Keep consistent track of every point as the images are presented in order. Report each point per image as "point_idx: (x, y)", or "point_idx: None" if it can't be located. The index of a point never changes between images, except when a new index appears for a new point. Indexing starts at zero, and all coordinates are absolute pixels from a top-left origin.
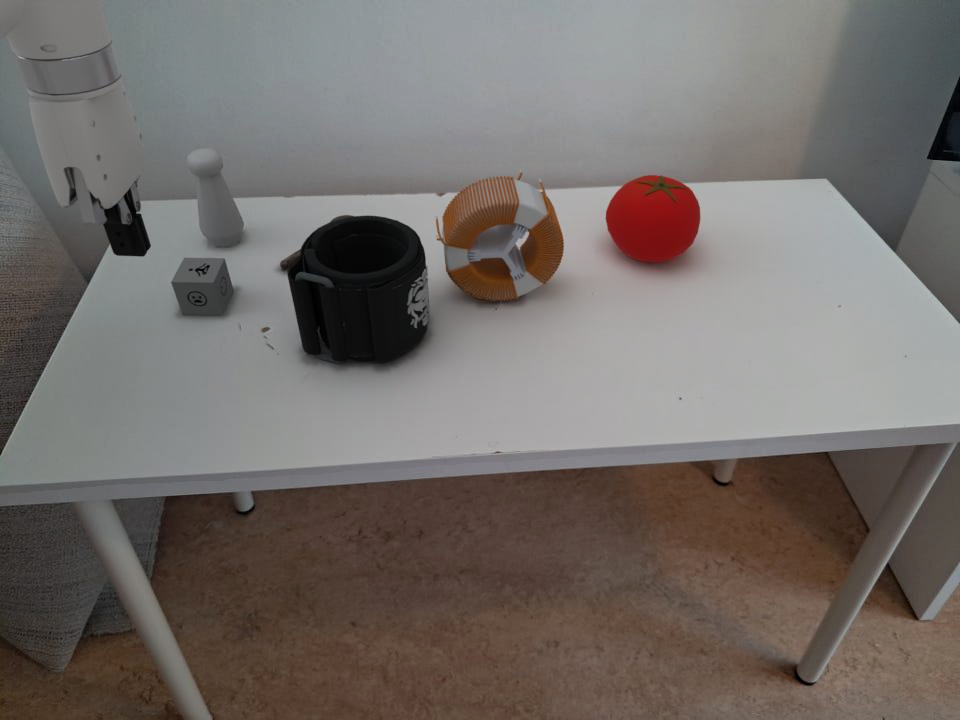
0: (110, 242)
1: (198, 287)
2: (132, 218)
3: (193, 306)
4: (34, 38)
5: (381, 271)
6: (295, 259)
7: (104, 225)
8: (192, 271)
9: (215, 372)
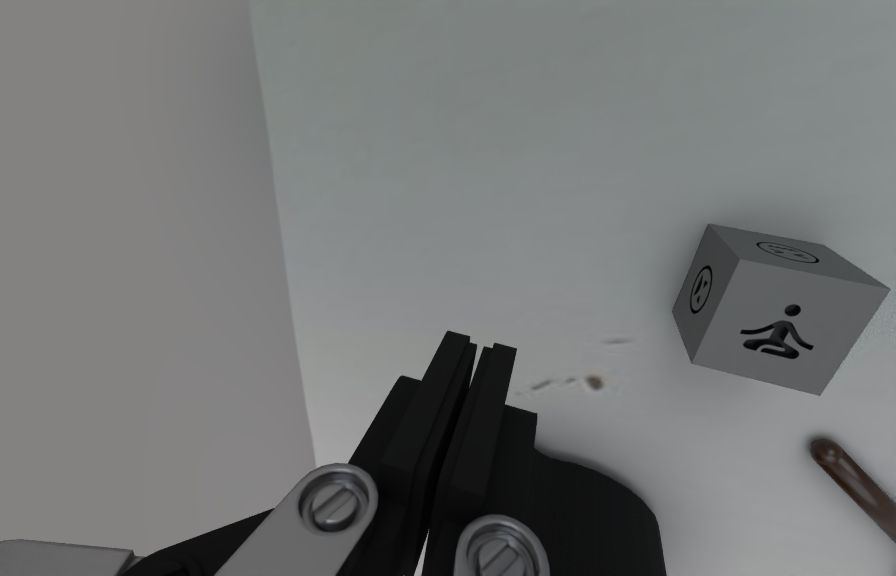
0: (431, 366)
1: (704, 317)
2: (422, 571)
3: (701, 264)
4: None
5: None
6: (834, 478)
7: (393, 439)
8: (780, 314)
9: (486, 297)
